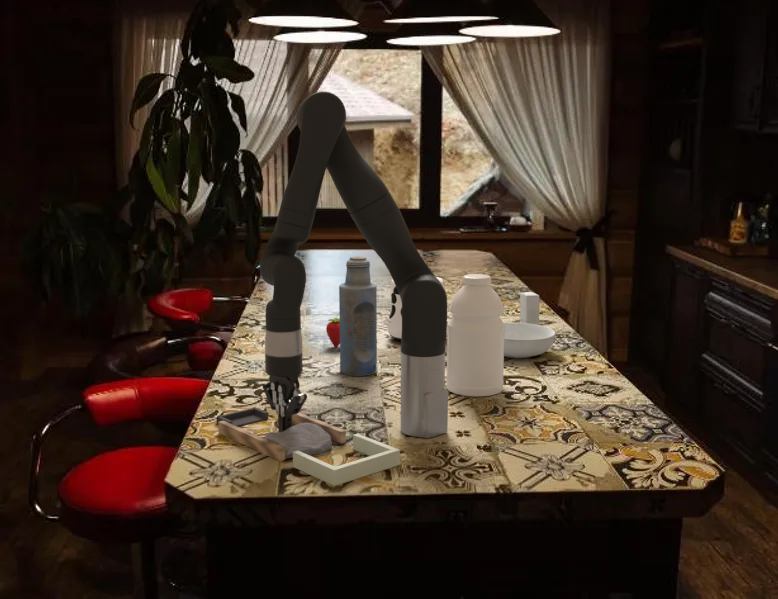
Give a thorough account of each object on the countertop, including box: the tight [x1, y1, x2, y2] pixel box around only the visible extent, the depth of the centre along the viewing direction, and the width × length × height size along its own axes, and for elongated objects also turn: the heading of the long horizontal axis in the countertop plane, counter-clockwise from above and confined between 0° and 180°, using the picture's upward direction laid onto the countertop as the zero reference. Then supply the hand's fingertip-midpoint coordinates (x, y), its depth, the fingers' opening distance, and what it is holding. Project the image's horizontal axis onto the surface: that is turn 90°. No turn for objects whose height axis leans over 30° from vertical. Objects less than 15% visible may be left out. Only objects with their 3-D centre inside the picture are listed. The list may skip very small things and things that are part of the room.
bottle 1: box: [338, 255, 378, 377], centre depth 247 cm, size 10×10×30 cm
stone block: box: [263, 423, 333, 459], centre depth 193 cm, size 12×5×10 cm
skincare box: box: [519, 291, 540, 325], centre depth 293 cm, size 6×4×12 cm
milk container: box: [387, 276, 445, 342], centre depth 284 cm, size 17×17×18 cm
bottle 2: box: [445, 273, 506, 397], centre depth 232 cm, size 14×14×28 cm
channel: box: [218, 412, 347, 462], centre depth 199 cm, size 22×16×2 cm
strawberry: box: [325, 314, 340, 348], centre depth 275 cm, size 6×8×10 cm
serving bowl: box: [504, 321, 556, 359], centre depth 268 cm, size 21×21×7 cm
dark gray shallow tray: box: [216, 407, 269, 427], centre depth 210 cm, size 5×10×2 cm, turn 132°
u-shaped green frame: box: [292, 433, 401, 487], centre depth 184 cm, size 13×16×3 cm
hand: (285, 432), depth 198 cm, fingers closed
